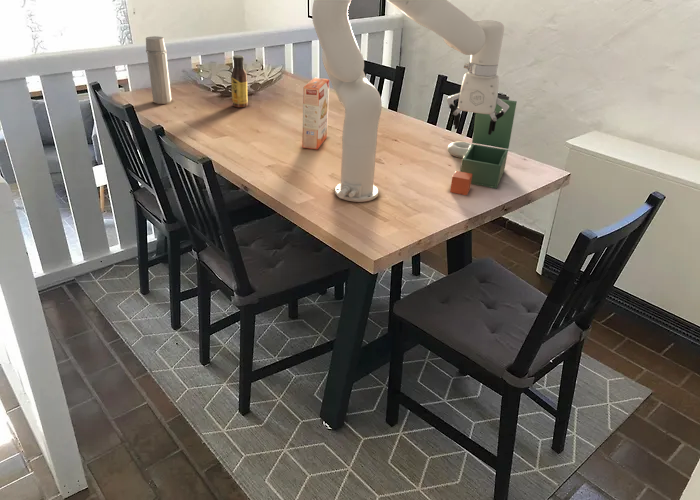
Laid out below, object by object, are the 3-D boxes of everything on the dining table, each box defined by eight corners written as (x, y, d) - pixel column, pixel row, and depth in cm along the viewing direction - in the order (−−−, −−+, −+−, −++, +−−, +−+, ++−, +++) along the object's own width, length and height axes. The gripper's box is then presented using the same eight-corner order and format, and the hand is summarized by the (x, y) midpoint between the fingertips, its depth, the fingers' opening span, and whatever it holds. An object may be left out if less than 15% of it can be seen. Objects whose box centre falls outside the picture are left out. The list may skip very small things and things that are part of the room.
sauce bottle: (230, 104, 235) (227, 54, 225) (245, 103, 237) (243, 53, 227) (234, 108, 230) (232, 58, 220) (249, 107, 232) (247, 57, 222)
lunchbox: (496, 188, 173) (500, 166, 169) (458, 181, 176) (462, 159, 172) (504, 171, 185) (508, 149, 182) (468, 164, 189) (472, 143, 185)
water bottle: (152, 100, 235) (144, 36, 222) (172, 99, 237) (165, 36, 225) (152, 106, 227) (144, 40, 215) (173, 105, 230) (166, 40, 217)
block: (466, 195, 167) (469, 179, 165) (450, 192, 169) (452, 176, 166) (470, 189, 171) (472, 173, 169) (453, 186, 173) (455, 170, 170)
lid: (516, 102, 170) (519, 93, 174) (477, 96, 173) (481, 88, 177) (508, 149, 181) (511, 139, 185) (472, 142, 185) (475, 134, 188)
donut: (442, 150, 200) (454, 160, 192) (443, 140, 198) (455, 150, 190) (468, 148, 203) (481, 158, 194) (469, 139, 201) (482, 148, 193)
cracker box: (318, 150, 194) (320, 88, 183) (301, 148, 195) (301, 86, 184) (328, 137, 206) (330, 78, 195) (312, 135, 206) (313, 76, 196)
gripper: (448, 68, 154) (440, 129, 163) (513, 76, 149) (501, 139, 158) (454, 63, 161) (446, 122, 169) (516, 70, 156) (505, 131, 164)
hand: (473, 130), depth 164 cm, fingers open, 9 cm apart
